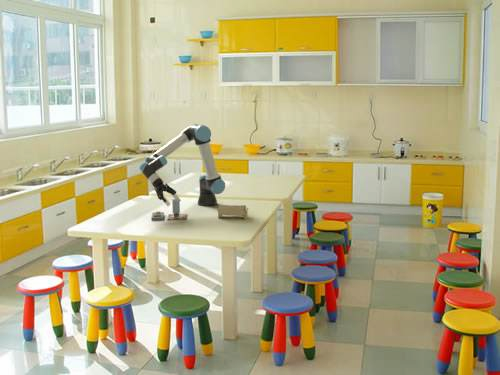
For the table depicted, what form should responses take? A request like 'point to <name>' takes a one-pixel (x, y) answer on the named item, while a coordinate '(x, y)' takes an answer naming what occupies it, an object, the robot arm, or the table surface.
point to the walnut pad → (181, 217)
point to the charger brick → (176, 207)
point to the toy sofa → (232, 210)
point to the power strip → (157, 216)
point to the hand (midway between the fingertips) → (174, 203)
